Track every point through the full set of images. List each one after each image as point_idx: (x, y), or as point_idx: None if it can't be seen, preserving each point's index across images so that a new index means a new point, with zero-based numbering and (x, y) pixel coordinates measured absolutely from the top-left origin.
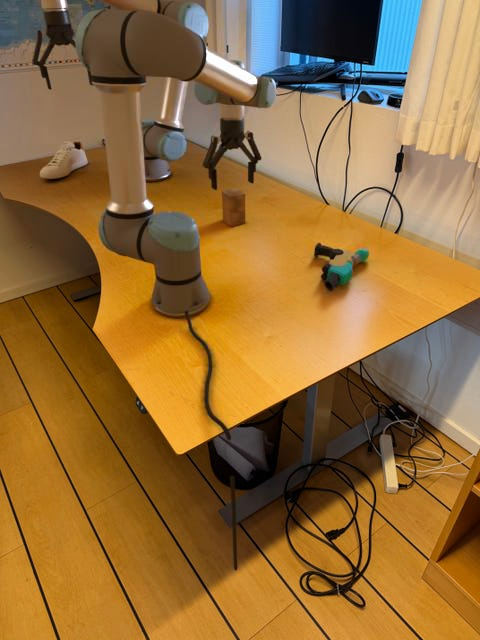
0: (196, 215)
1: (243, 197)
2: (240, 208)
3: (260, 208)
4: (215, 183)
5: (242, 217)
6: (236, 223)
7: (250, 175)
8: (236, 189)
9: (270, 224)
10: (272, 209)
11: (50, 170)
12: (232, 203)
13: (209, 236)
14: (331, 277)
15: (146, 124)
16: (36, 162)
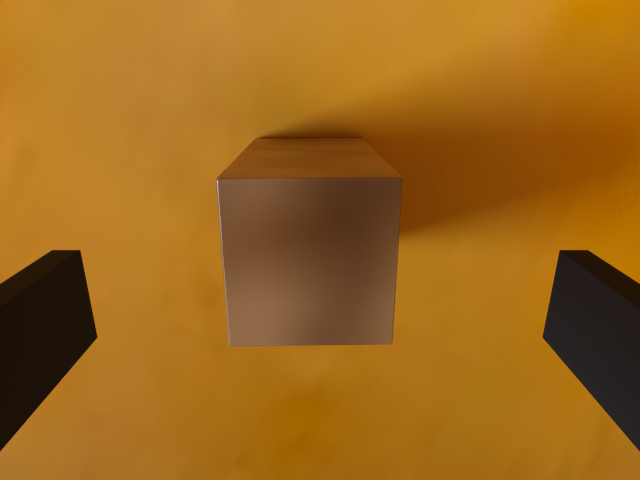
0: (457, 364)
1: (242, 171)
2: (283, 154)
3: None
4: (628, 285)
5: (272, 143)
6: (320, 138)
7: (31, 327)
8: (250, 316)
9: (105, 34)
10: (8, 242)
11: None
12: (362, 163)
13: (548, 70)
14: None
15: None
16: None
